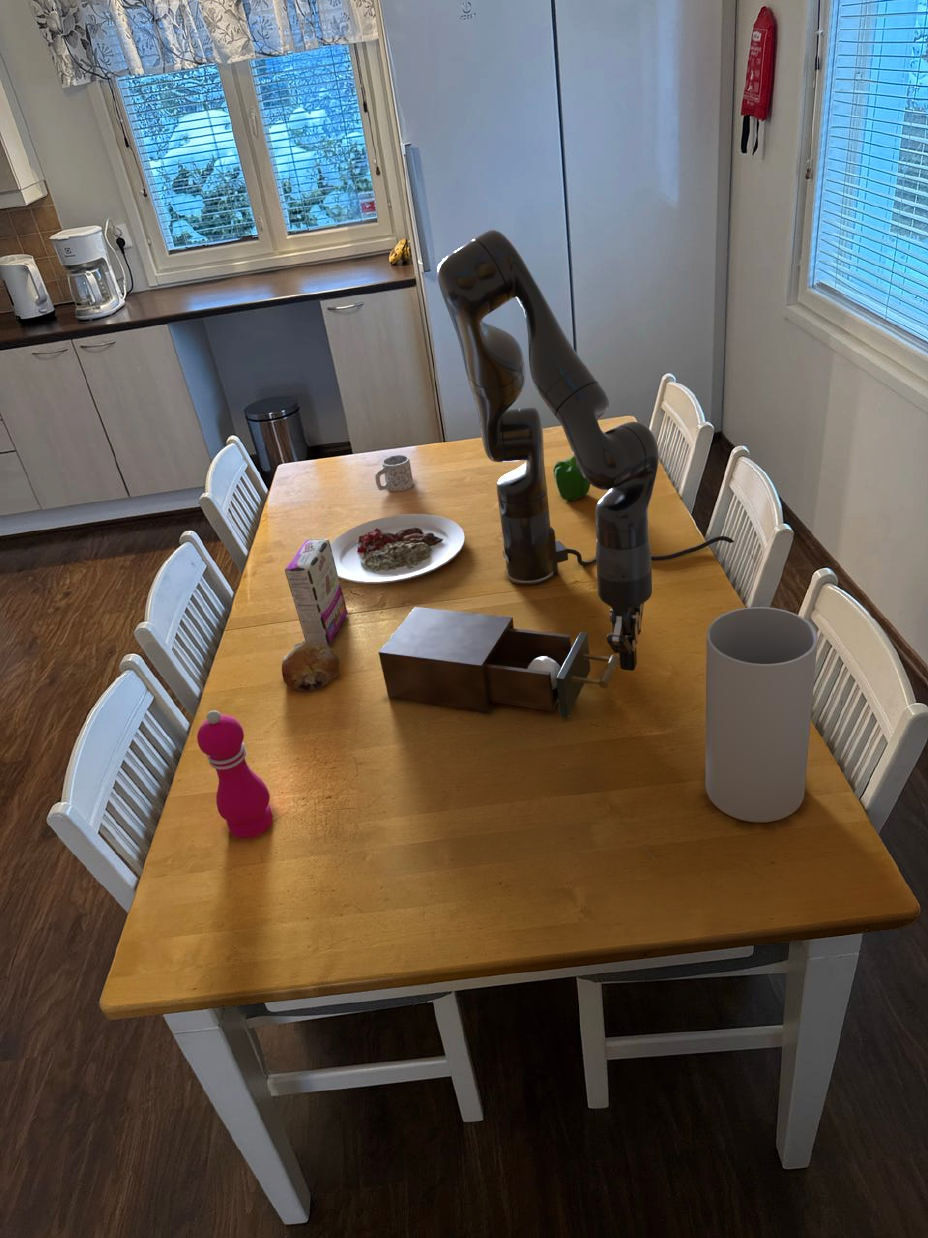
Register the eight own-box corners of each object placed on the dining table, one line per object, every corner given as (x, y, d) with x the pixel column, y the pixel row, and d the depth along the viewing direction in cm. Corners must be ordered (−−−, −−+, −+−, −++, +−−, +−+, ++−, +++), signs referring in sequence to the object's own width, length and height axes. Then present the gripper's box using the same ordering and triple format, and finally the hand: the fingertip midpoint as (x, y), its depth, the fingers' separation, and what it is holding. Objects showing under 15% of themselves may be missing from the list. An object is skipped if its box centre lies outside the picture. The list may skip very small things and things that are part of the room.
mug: (402, 477, 228) (397, 452, 224) (418, 483, 223) (414, 458, 220) (370, 492, 222) (365, 467, 219) (387, 498, 218) (382, 472, 214)
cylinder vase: (698, 816, 118) (698, 659, 105) (713, 754, 128) (715, 603, 115) (799, 833, 114) (813, 671, 101) (807, 767, 123) (821, 611, 110)
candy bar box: (324, 613, 176) (305, 538, 167) (348, 613, 174) (330, 537, 166) (304, 646, 166) (282, 568, 158) (329, 646, 165) (309, 568, 157)
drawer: (625, 674, 145) (623, 636, 141) (604, 724, 135) (601, 684, 131) (495, 658, 153) (490, 621, 150) (467, 703, 144) (460, 665, 140)
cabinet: (518, 663, 153) (512, 617, 148) (488, 714, 142) (481, 665, 138) (423, 651, 160) (414, 606, 155) (388, 698, 149) (378, 652, 145)
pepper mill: (229, 809, 132) (189, 699, 121) (279, 801, 132) (242, 691, 121) (222, 845, 126) (179, 733, 115) (274, 837, 126) (235, 724, 115)
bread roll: (350, 684, 161) (350, 639, 159) (321, 696, 151) (321, 648, 150) (301, 679, 164) (300, 635, 163) (269, 690, 154) (269, 644, 153)
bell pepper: (548, 501, 205) (544, 459, 199) (566, 486, 210) (563, 445, 205) (581, 506, 200) (578, 464, 195) (598, 491, 206) (596, 449, 200)
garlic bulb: (554, 696, 144) (577, 692, 140) (525, 693, 141) (547, 687, 136) (554, 663, 146) (576, 657, 141) (524, 658, 142) (546, 652, 138)
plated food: (437, 593, 176) (434, 578, 174) (301, 585, 186) (297, 571, 185) (484, 523, 200) (482, 509, 198) (361, 519, 210) (358, 506, 208)
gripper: (639, 592, 120) (643, 697, 129) (661, 545, 130) (663, 645, 139) (584, 588, 123) (592, 690, 132) (609, 542, 133) (615, 640, 142)
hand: (628, 667), depth 136 cm, fingers closed
